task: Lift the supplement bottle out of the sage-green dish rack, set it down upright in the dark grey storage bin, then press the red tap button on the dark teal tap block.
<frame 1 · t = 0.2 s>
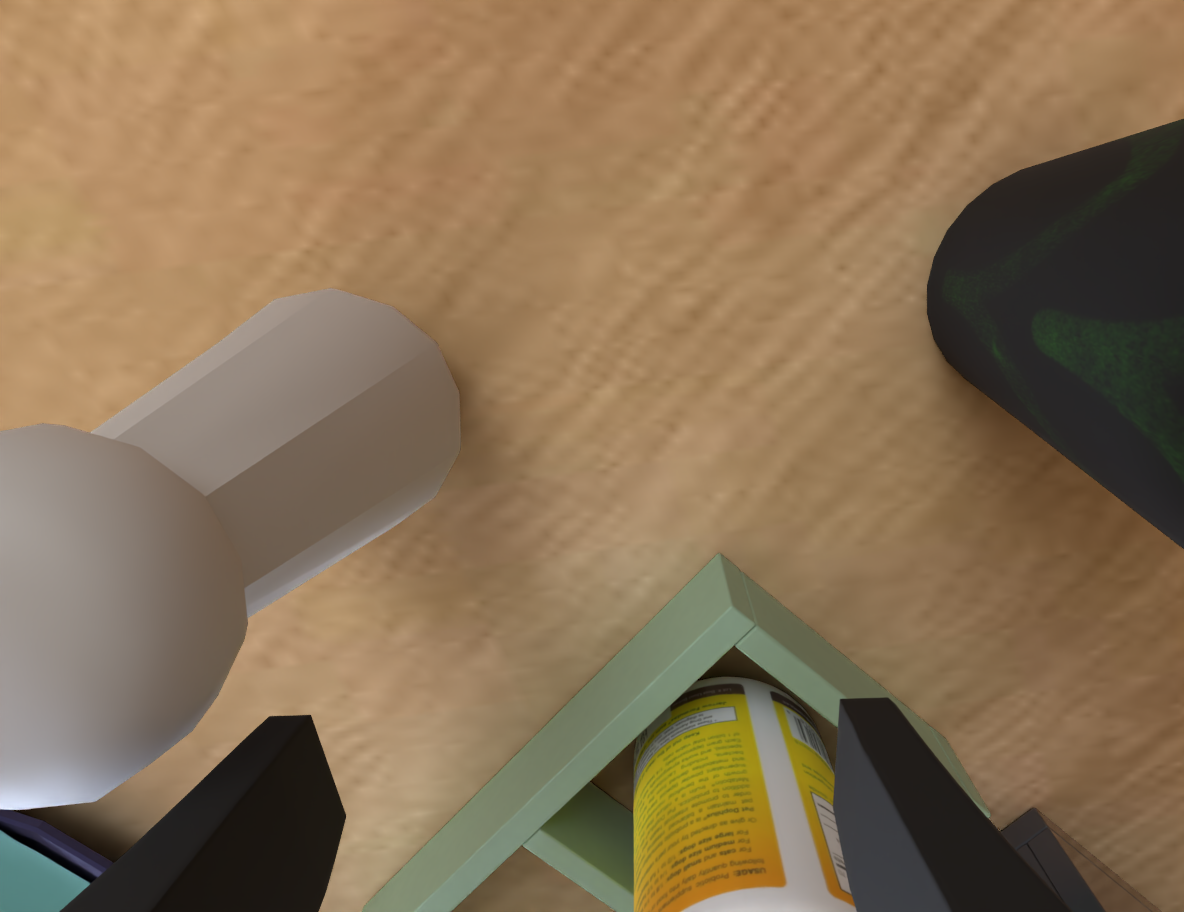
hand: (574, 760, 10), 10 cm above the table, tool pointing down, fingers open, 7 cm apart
supplement bottle: (725, 742, 23), resting in dish rack
salt shaker: (373, 392, 20), on the table
dish rack: (635, 827, 24), on the table
cup: (1041, 284, 18), on the table
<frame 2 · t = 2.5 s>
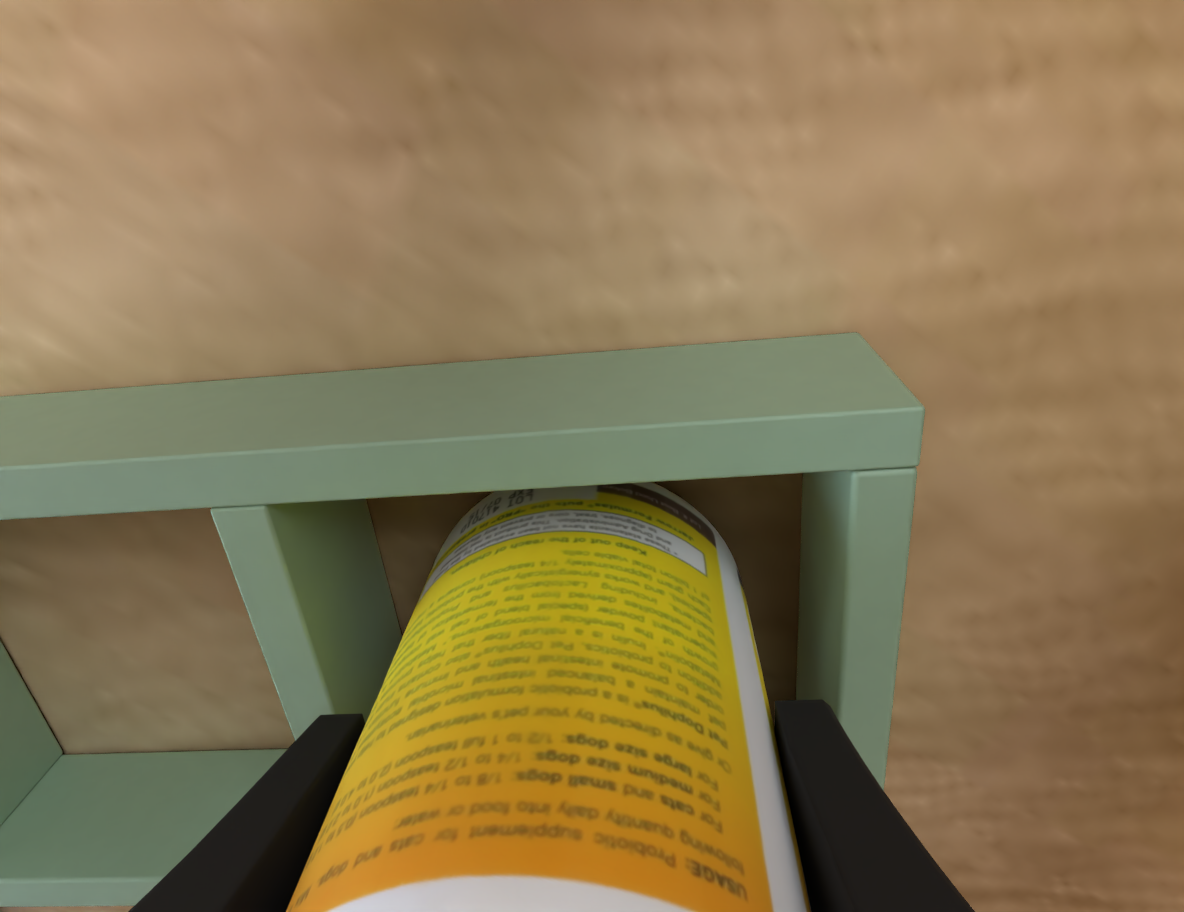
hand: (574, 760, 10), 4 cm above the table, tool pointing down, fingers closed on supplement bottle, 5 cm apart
supplement bottle: (589, 583, 14), resting in dish rack, touching gripper
dish rack: (372, 599, 14), on the table
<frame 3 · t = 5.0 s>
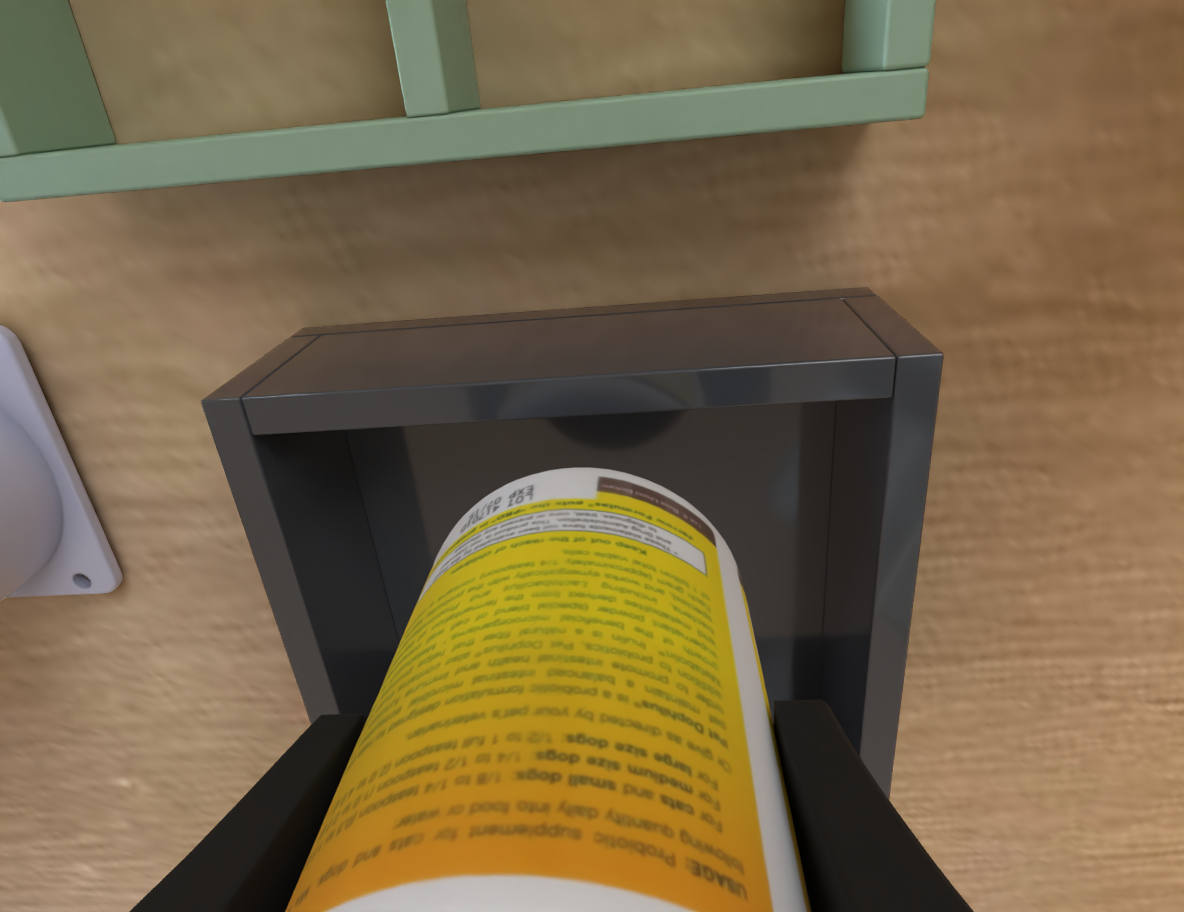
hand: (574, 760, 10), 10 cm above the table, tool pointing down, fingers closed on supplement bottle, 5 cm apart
dark grey storage bin: (599, 547, 21), on the table
supplement bottle: (589, 582, 14), point 6 cm above the table, touching gripper
when the fingers open (5 cm above the table, at t = 7.3 s): supplement bottle stays where it is, resting on dark grey storage bin.
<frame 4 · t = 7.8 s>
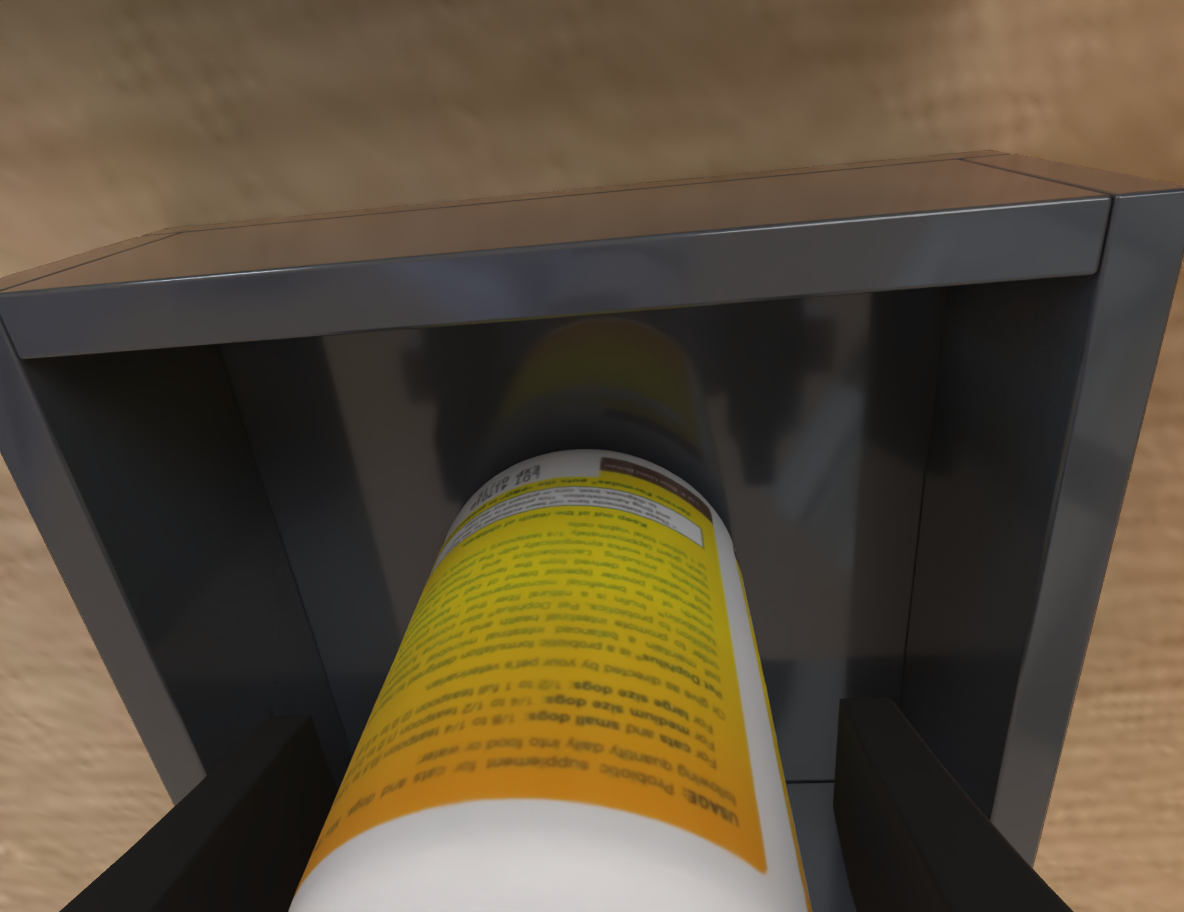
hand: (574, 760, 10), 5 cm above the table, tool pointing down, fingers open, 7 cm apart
dark grey storage bin: (596, 543, 15), on the table
supplement bottle: (592, 561, 15), point 1 cm above the table, touching dark grey storage bin
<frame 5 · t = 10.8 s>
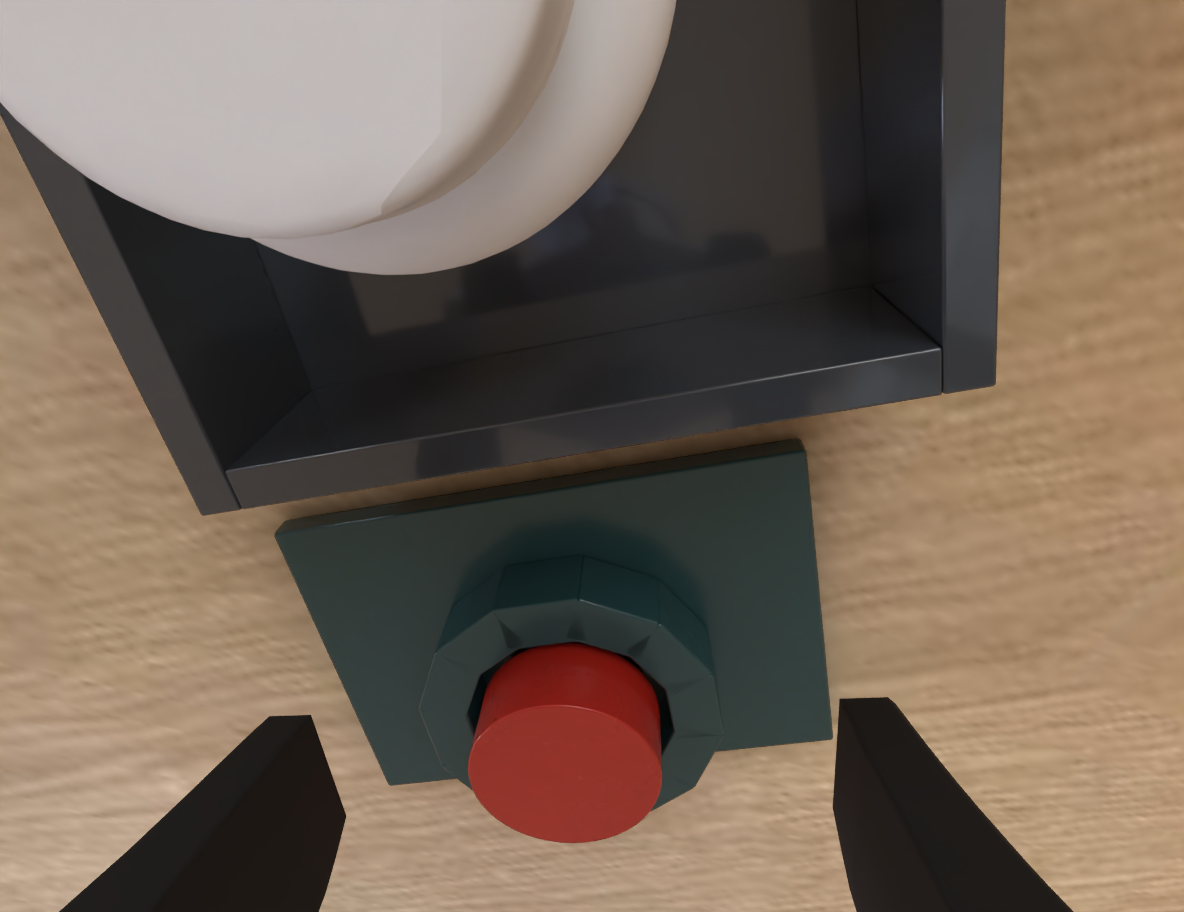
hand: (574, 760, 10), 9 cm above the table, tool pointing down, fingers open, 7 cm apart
dark grey storage bin: (510, 19, 14), on the table
supplement bottle: (503, 18, 13), point 1 cm above the table, touching dark grey storage bin
tap block: (569, 625, 20), on the table
tap button: (568, 743, 18), point 3 cm above the table, slide at 0.1 cm
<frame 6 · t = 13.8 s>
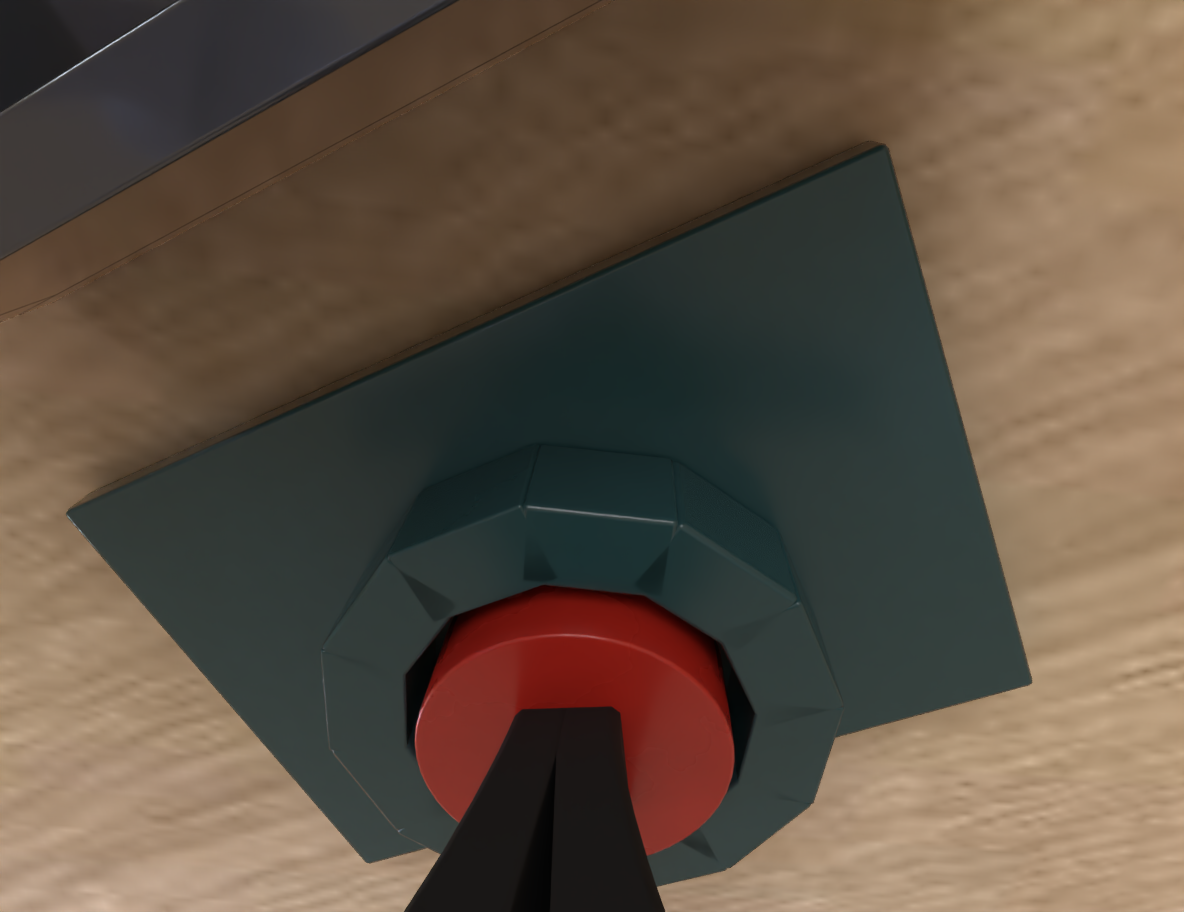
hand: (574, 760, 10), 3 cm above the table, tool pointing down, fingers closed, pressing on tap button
tap block: (561, 575, 13), on the table
tap button: (578, 706, 11), point 2 cm above the table, slide at -1.0 cm, touching gripper
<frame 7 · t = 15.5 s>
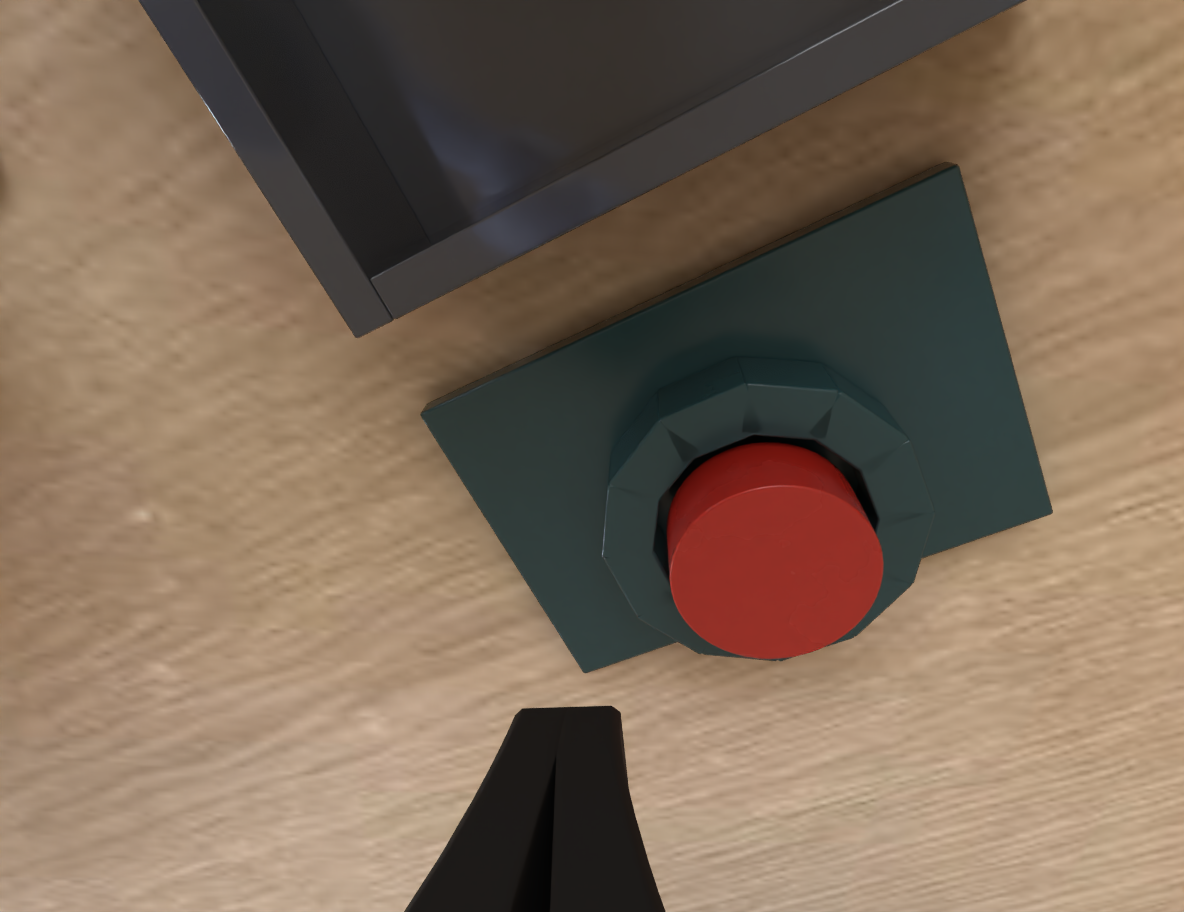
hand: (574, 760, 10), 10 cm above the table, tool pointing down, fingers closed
tap block: (735, 452, 19), on the table
tap button: (767, 550, 17), point 3 cm above the table, slide at 0.1 cm
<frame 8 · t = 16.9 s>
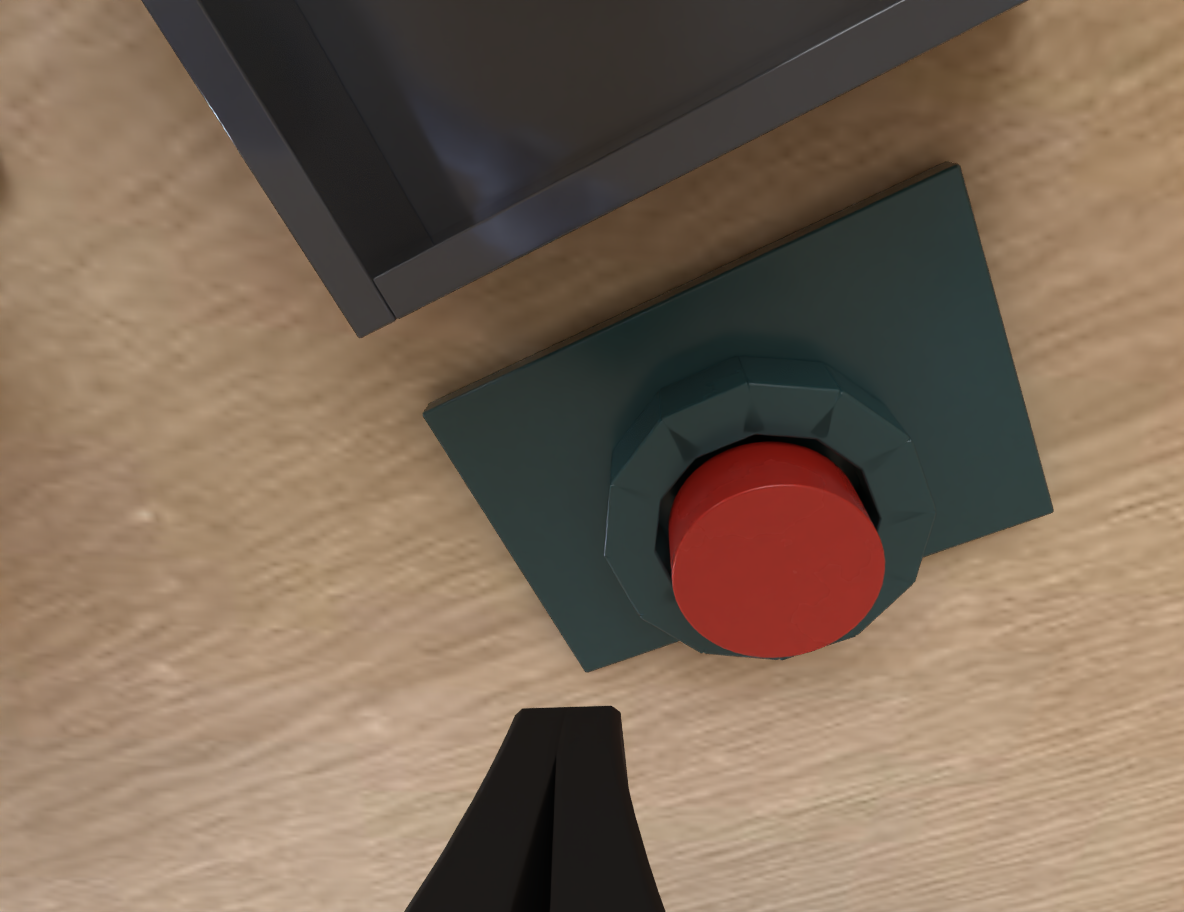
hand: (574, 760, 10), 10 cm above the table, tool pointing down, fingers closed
tap block: (736, 451, 19), on the table
tap button: (769, 549, 17), point 3 cm above the table, slide at 0.1 cm
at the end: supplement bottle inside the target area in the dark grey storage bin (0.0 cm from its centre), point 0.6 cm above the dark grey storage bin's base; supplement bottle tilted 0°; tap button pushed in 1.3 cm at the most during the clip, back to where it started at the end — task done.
